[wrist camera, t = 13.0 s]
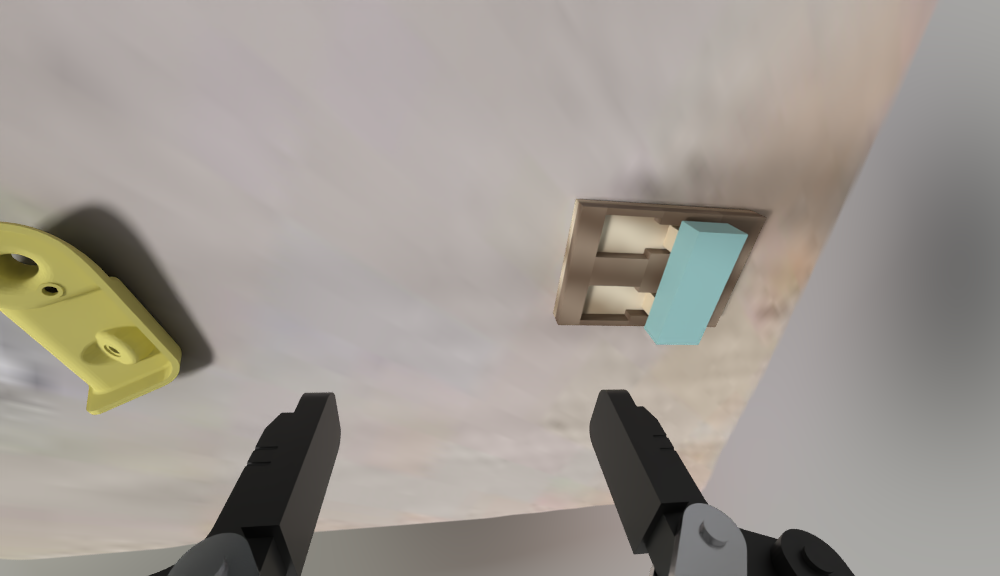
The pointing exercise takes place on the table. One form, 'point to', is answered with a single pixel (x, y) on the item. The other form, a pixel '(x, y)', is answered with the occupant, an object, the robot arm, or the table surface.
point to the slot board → (631, 258)
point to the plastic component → (84, 318)
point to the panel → (691, 280)
